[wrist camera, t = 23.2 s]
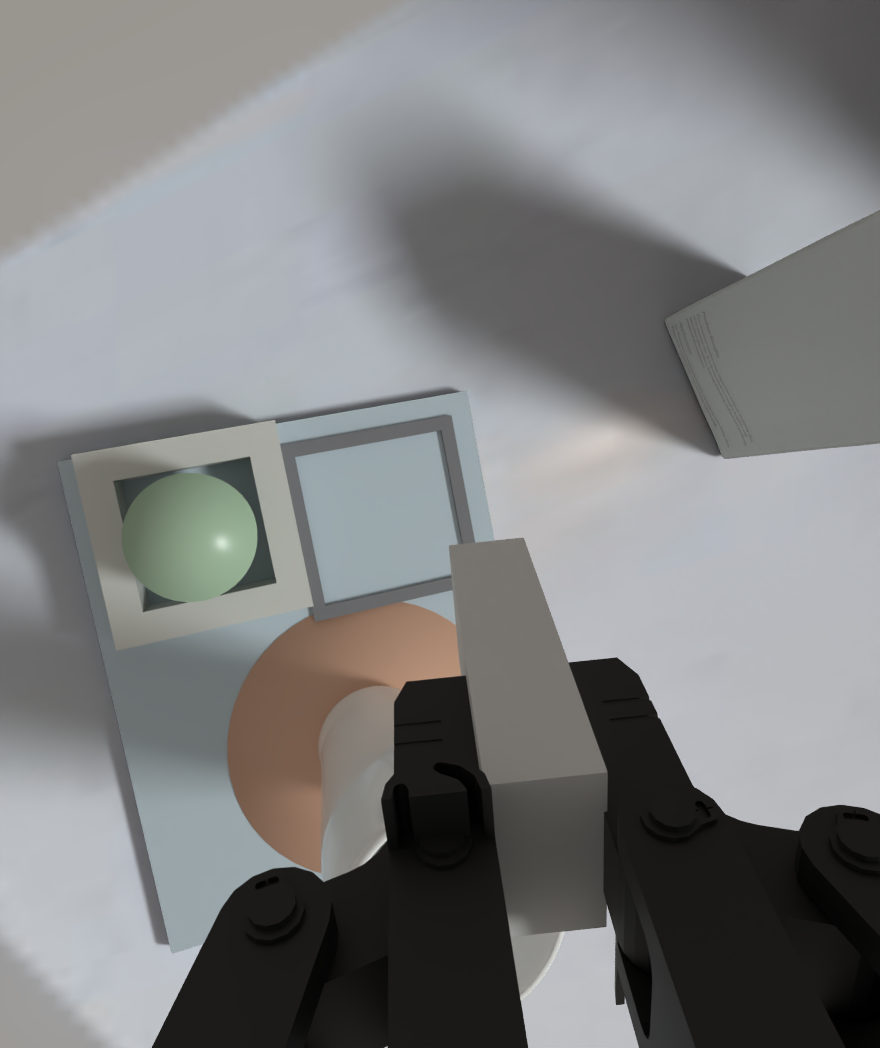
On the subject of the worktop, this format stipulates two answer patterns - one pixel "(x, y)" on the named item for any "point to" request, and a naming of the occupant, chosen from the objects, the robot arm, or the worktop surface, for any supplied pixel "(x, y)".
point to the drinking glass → (356, 812)
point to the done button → (189, 537)
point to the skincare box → (791, 349)
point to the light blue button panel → (291, 645)
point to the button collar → (134, 461)
